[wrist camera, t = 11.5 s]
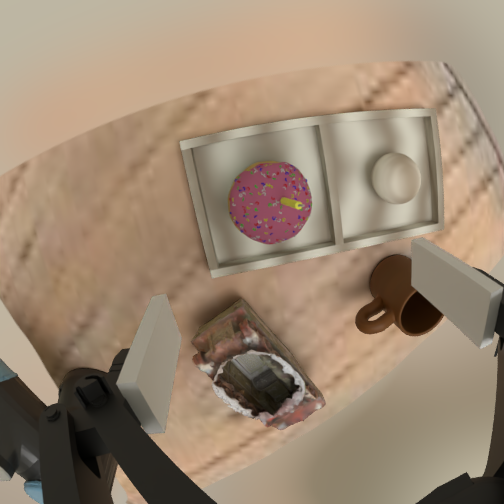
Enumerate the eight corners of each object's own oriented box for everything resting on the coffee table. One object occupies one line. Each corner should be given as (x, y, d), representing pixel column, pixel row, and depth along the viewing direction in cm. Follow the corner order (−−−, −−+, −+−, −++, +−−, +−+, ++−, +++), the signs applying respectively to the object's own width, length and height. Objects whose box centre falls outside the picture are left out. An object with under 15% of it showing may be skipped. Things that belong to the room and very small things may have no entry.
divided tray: (212, 270, 40) (211, 278, 37) (182, 141, 34) (179, 141, 32) (434, 224, 40) (444, 229, 37) (425, 109, 34) (435, 108, 32)
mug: (344, 321, 44) (367, 360, 35) (333, 275, 41) (358, 311, 32) (416, 291, 43) (449, 322, 34) (411, 245, 41) (448, 271, 32)
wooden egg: (365, 202, 37) (387, 213, 32) (360, 153, 35) (382, 157, 30) (406, 195, 37) (432, 205, 32) (402, 149, 35) (428, 152, 30)
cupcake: (273, 143, 34) (293, 144, 23) (316, 201, 37) (353, 229, 26) (212, 190, 36) (204, 213, 24) (259, 245, 38) (270, 291, 27)
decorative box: (277, 268, 40) (290, 306, 31) (335, 368, 47) (354, 411, 38) (190, 316, 42) (181, 361, 33) (262, 403, 48) (268, 449, 39)
